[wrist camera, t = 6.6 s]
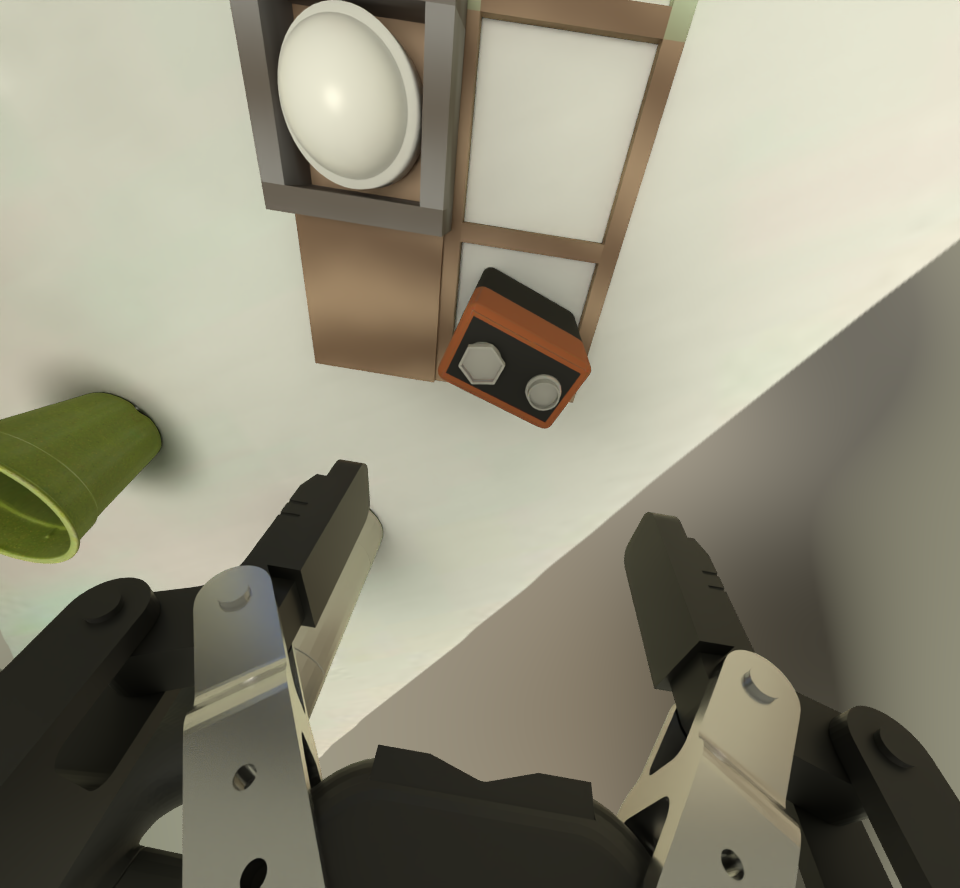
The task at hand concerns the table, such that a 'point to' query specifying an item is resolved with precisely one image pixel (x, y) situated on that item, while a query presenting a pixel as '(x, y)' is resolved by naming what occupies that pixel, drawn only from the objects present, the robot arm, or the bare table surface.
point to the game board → (429, 176)
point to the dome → (350, 96)
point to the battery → (516, 350)
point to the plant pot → (67, 471)
